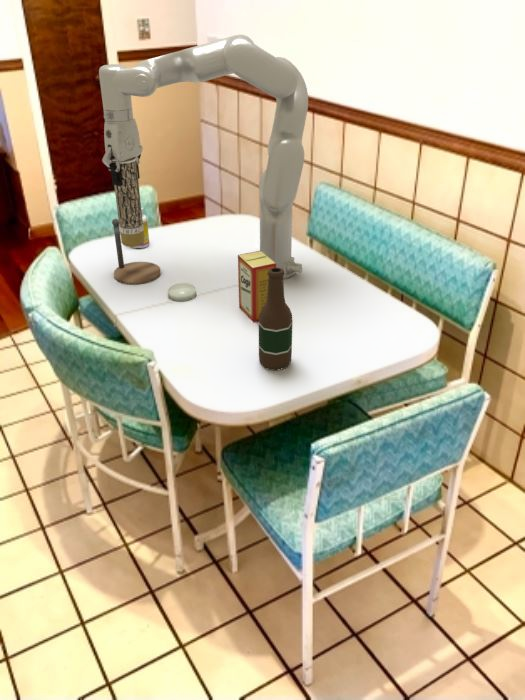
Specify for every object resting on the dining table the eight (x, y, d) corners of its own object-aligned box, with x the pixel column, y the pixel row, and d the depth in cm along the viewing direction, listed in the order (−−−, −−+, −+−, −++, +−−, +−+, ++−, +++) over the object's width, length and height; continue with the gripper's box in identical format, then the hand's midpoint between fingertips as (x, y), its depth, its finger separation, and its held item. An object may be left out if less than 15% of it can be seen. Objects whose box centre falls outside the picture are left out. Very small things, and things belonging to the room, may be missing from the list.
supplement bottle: (153, 244, 215) (150, 207, 208) (140, 250, 210) (136, 213, 204) (138, 240, 218) (134, 203, 211) (125, 246, 213) (120, 209, 207)
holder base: (169, 270, 197) (165, 218, 188) (141, 288, 186) (135, 234, 177) (133, 262, 202) (127, 211, 194) (104, 278, 192) (96, 225, 183)
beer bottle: (290, 353, 155) (292, 262, 143) (292, 370, 148) (295, 277, 136) (258, 353, 155) (257, 262, 142) (259, 371, 148) (258, 277, 136)
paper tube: (119, 241, 190) (108, 156, 177) (141, 237, 193) (132, 154, 180) (124, 249, 185) (114, 162, 172) (147, 245, 188) (138, 159, 175)
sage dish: (201, 292, 184) (201, 286, 183) (185, 303, 178) (185, 297, 177) (178, 286, 187) (178, 281, 186) (162, 297, 181) (162, 291, 180)
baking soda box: (275, 317, 171) (276, 262, 162) (253, 322, 168) (252, 266, 160) (260, 302, 178) (260, 249, 170) (239, 307, 176) (237, 253, 167)
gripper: (108, 123, 162) (116, 192, 171) (149, 110, 175) (155, 175, 184) (85, 120, 165) (95, 188, 174) (128, 108, 178) (135, 172, 187)
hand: (126, 181), depth 179 cm, fingers closed on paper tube, 6 cm apart
